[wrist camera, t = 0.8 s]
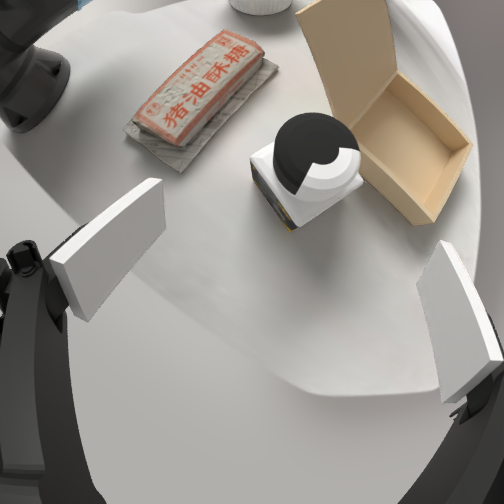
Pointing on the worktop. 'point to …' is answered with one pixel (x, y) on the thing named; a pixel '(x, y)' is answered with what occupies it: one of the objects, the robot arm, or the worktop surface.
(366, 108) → the mailer
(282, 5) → the ramekin
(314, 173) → the medicine bottle
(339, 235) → the worktop surface
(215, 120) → the packaged product
